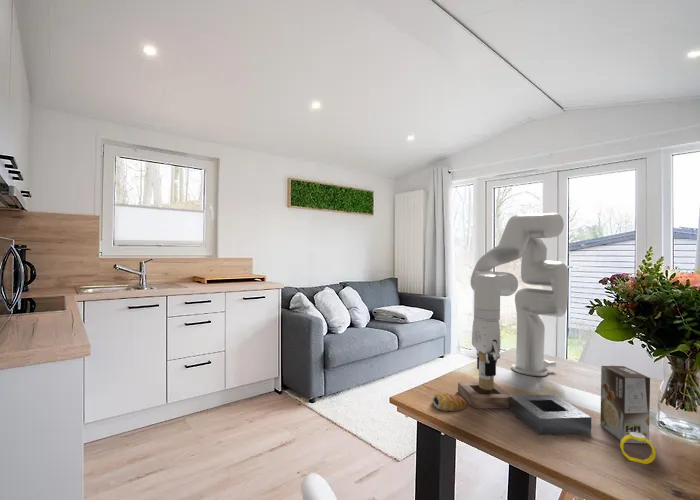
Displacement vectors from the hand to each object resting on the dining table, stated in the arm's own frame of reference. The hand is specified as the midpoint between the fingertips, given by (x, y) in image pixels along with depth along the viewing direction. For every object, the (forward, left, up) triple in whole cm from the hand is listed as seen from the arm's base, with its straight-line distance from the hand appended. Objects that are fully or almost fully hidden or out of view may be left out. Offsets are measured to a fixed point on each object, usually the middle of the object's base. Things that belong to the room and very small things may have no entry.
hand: (486, 371), depth 110 cm
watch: (-18, +33, -9) cm, 39 cm away
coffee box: (-25, +22, -9) cm, 35 cm away
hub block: (-10, +14, -8) cm, 20 cm away
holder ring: (+1, 0, -8) cm, 8 cm away
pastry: (+14, +5, -9) cm, 17 cm away
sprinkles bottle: (0, 0, -5) cm, 5 cm away
